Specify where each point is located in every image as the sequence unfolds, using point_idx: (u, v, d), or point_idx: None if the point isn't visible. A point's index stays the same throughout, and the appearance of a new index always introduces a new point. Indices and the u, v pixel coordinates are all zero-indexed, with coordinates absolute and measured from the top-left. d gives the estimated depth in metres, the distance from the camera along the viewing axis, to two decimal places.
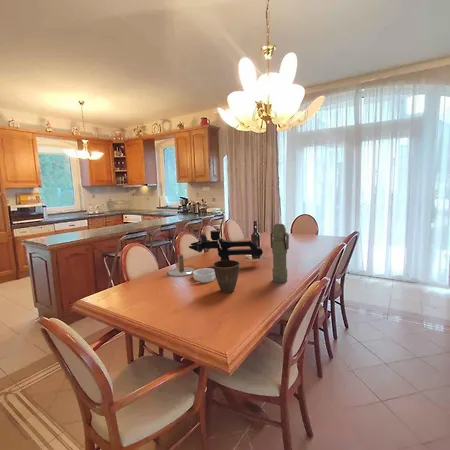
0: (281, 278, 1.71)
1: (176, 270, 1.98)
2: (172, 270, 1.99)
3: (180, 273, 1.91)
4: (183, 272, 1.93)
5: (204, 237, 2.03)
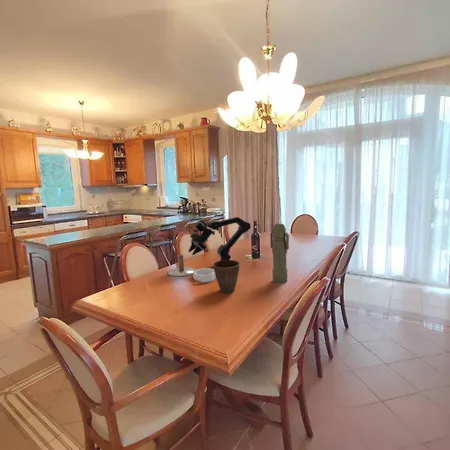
0: (281, 278, 1.71)
1: (176, 270, 1.98)
2: (172, 270, 1.99)
3: (180, 273, 1.91)
4: (183, 272, 1.93)
5: (196, 235, 1.94)
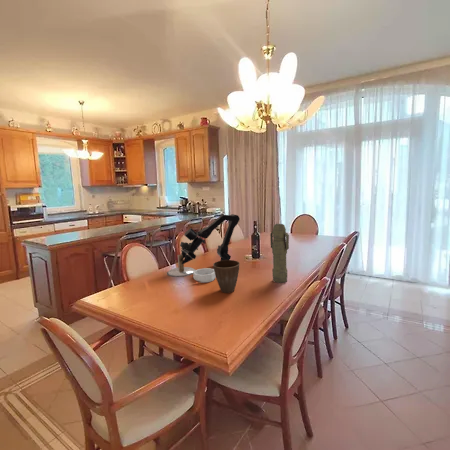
0: (281, 278, 1.71)
1: (176, 270, 1.98)
2: (172, 270, 1.99)
3: (180, 273, 1.91)
4: (183, 272, 1.93)
5: (186, 244, 1.92)
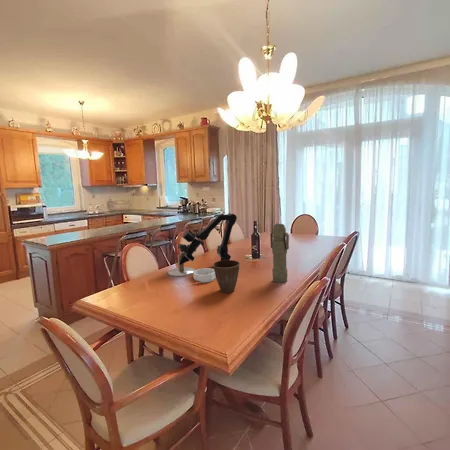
0: (281, 278, 1.71)
1: (176, 270, 1.98)
2: (172, 270, 1.99)
3: (180, 273, 1.91)
4: (183, 272, 1.93)
5: (184, 246, 1.91)
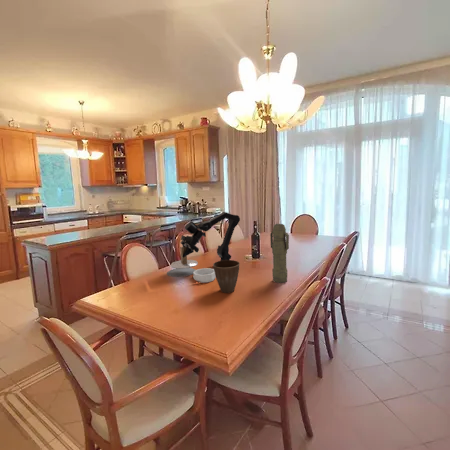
0: (281, 278, 1.71)
1: (178, 263, 1.93)
2: (174, 263, 1.93)
3: (185, 265, 1.86)
4: (187, 264, 1.89)
5: (188, 237, 1.87)
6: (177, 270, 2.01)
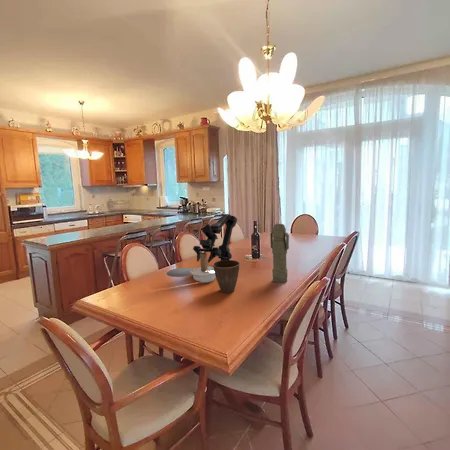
0: (281, 278, 1.71)
1: (198, 271, 1.82)
2: (194, 272, 1.81)
3: (210, 272, 1.79)
4: (210, 270, 1.82)
5: (210, 241, 1.80)
6: (177, 270, 2.01)
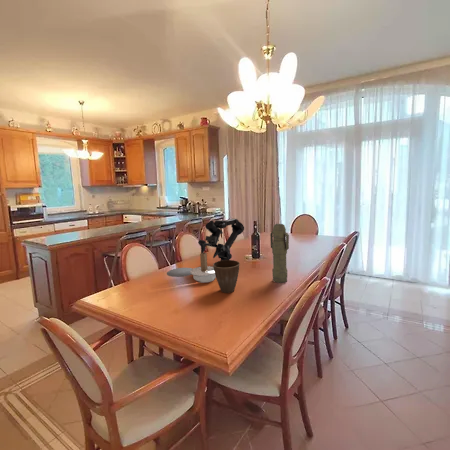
0: (281, 278, 1.71)
1: (198, 271, 1.82)
2: (194, 272, 1.81)
3: (210, 272, 1.79)
4: (210, 270, 1.82)
5: (215, 238, 1.89)
6: (177, 270, 2.01)
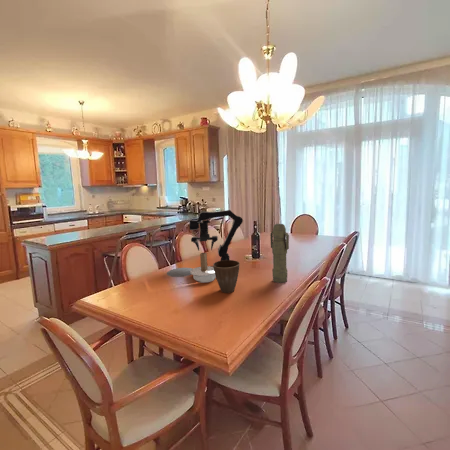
0: (281, 278, 1.71)
1: (198, 271, 1.82)
2: (194, 272, 1.81)
3: (210, 272, 1.79)
4: (210, 270, 1.82)
5: (209, 236, 1.98)
6: (177, 270, 2.01)
